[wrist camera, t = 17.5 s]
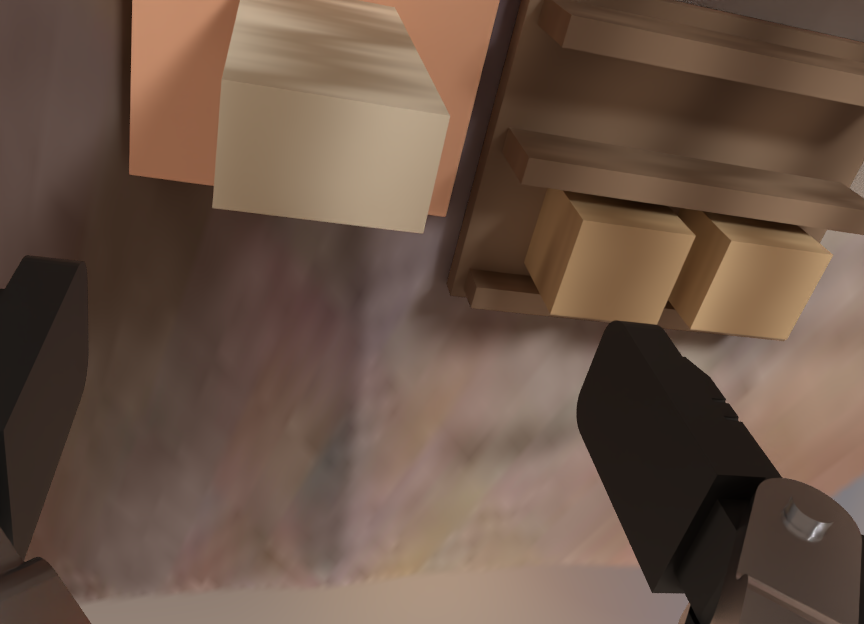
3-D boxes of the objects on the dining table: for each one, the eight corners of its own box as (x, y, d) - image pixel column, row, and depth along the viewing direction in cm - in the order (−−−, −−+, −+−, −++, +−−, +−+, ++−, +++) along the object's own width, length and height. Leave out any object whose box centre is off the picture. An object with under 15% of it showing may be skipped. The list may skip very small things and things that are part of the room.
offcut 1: (653, 190, 32) (695, 235, 29) (620, 274, 34) (656, 325, 31) (551, 174, 31) (583, 220, 28) (523, 262, 33) (550, 314, 30)
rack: (901, 50, 31) (974, 80, 28) (762, 319, 38) (807, 368, 35) (529, -32, 27) (562, -8, 24) (446, 283, 34) (463, 335, 31)
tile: (522, -118, 26) (528, -116, 25) (442, 208, 32) (445, 216, 31) (140, -213, 23) (136, -213, 22) (132, 165, 29) (129, 174, 28)
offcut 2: (779, 209, 33) (833, 254, 30) (740, 289, 35) (786, 339, 32) (686, 195, 32) (731, 240, 29) (651, 278, 34) (690, 329, 31)
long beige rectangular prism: (394, 7, 27) (450, 115, 18) (379, 93, 28) (423, 233, 19) (244, -22, 25) (221, 79, 16) (237, 69, 27) (212, 207, 18)
